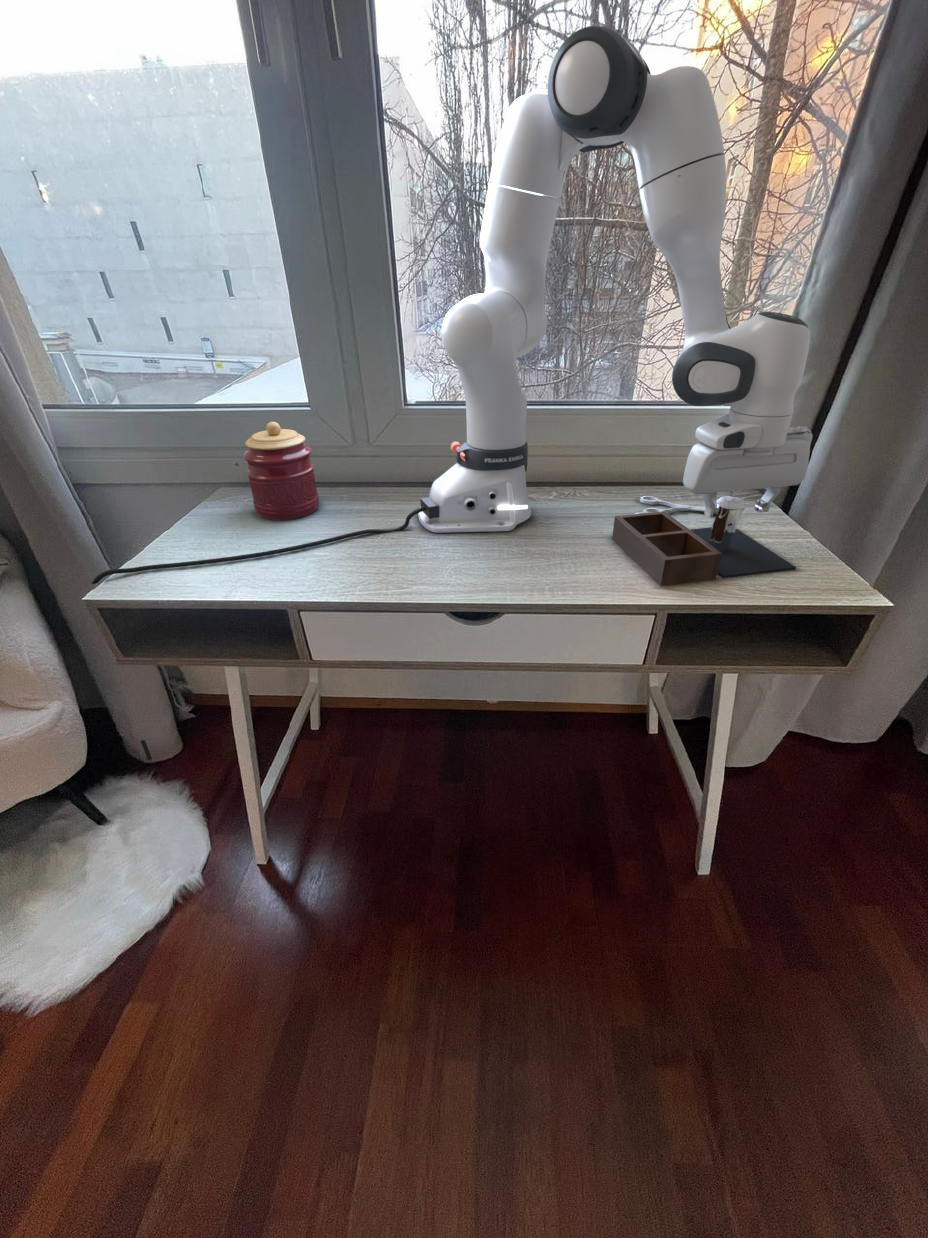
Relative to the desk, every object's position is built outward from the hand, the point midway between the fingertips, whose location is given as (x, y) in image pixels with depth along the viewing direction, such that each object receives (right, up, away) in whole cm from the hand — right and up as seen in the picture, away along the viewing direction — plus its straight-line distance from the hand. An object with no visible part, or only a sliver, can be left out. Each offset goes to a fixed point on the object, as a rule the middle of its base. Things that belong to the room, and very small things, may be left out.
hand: (736, 513), depth 99 cm
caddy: (-12, -7, +1) cm, 14 cm away
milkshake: (-2, -6, +3) cm, 7 cm away
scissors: (-2, +4, +19) cm, 19 cm away
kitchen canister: (-82, +5, +23) cm, 86 cm away
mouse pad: (0, -6, +3) cm, 7 cm away
